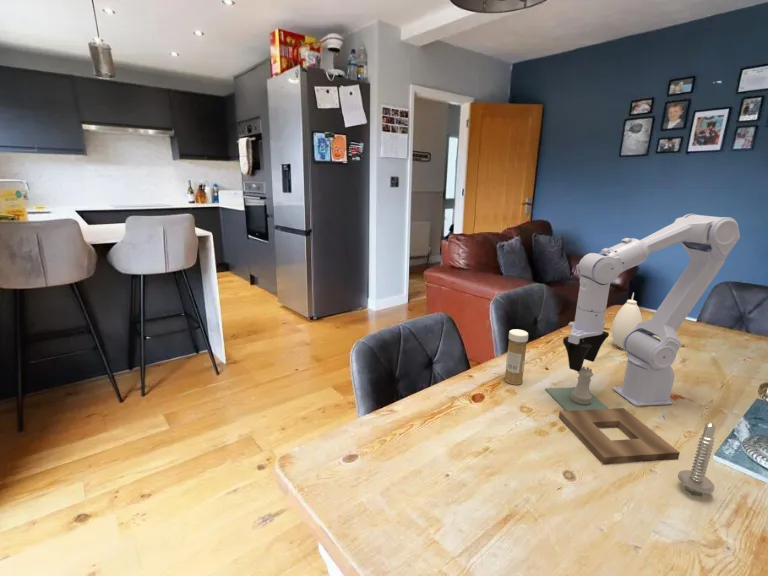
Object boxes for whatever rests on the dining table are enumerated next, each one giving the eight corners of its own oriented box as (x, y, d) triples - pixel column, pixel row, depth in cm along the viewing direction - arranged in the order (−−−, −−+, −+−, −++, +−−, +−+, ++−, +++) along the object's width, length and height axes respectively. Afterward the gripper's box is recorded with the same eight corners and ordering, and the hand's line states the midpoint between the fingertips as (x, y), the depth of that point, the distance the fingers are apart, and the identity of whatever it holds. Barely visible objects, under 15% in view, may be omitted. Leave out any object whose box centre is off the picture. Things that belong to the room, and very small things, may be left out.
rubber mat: (583, 388, 100) (583, 386, 100) (609, 410, 90) (610, 409, 90) (545, 389, 98) (545, 388, 98) (567, 412, 89) (568, 411, 89)
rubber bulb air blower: (610, 340, 130) (620, 287, 126) (638, 346, 126) (649, 291, 121) (607, 348, 124) (617, 292, 120) (636, 355, 120) (648, 297, 115)
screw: (674, 492, 67) (676, 476, 70) (711, 507, 64) (711, 489, 67) (691, 423, 63) (693, 410, 67) (731, 436, 60) (731, 421, 64)
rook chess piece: (565, 398, 94) (570, 367, 92) (577, 393, 96) (582, 363, 94) (583, 407, 90) (589, 375, 88) (595, 402, 93) (601, 370, 90)
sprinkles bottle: (526, 382, 102) (532, 333, 98) (514, 387, 99) (520, 336, 96) (511, 375, 106) (517, 327, 102) (500, 379, 103) (505, 330, 100)
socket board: (622, 413, 89) (623, 407, 89) (678, 459, 75) (679, 452, 74) (558, 417, 87) (559, 411, 87) (603, 464, 73) (604, 457, 72)
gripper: (586, 298, 96) (577, 350, 100) (557, 310, 87) (550, 367, 90) (618, 305, 91) (608, 360, 94) (591, 318, 82) (582, 379, 85)
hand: (582, 364), depth 92 cm, fingers open, 7 cm apart
